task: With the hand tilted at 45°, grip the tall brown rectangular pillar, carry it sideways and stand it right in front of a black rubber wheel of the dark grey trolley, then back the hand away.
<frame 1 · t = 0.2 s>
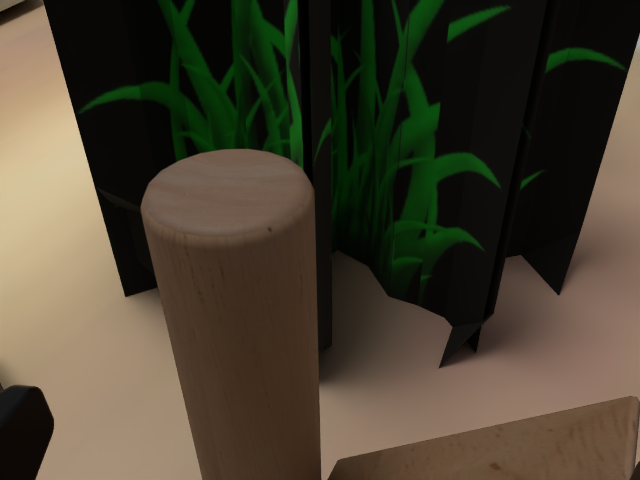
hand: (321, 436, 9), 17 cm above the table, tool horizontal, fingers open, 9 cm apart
decorative plant: (333, 217, 43), on the table
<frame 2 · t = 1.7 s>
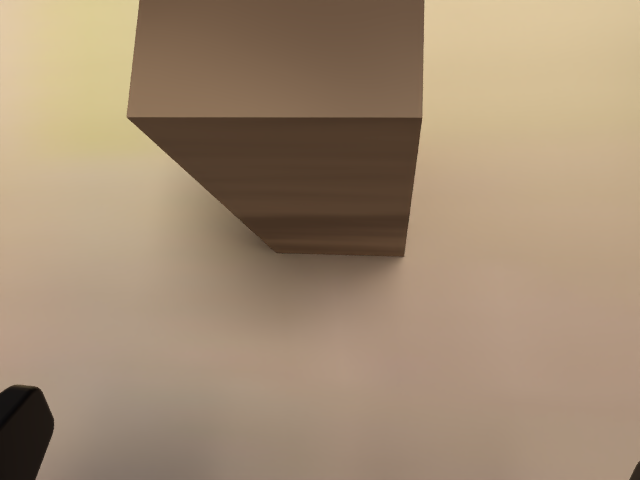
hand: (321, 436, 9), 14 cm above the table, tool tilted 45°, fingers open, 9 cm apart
brown rectangular pillar: (341, 192, 24), on the table
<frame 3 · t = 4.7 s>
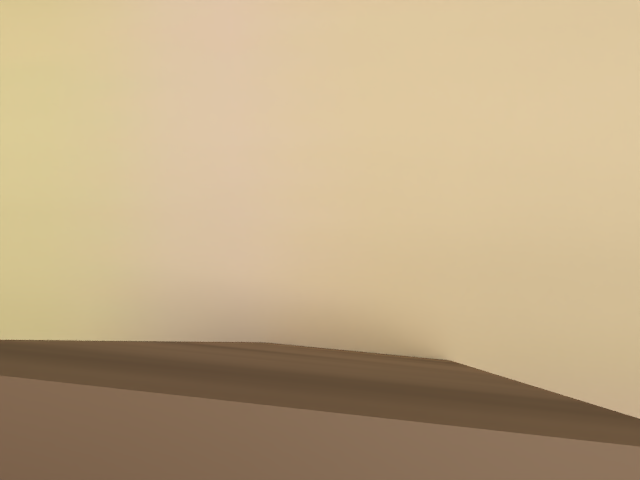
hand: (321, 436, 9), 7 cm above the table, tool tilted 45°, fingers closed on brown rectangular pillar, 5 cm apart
brown rectangular pillar: (347, 448, 16), on the table, touching gripper
when the fingers open (8 cm above the table, at t = 8.1 s): brown rectangular pillar drops 1 cm, on the table.
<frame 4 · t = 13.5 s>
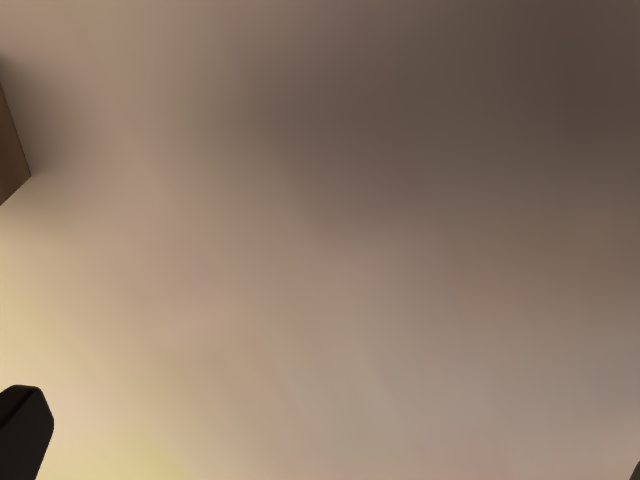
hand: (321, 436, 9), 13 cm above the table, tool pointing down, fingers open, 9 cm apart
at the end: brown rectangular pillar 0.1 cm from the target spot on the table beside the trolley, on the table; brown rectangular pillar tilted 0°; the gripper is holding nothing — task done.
